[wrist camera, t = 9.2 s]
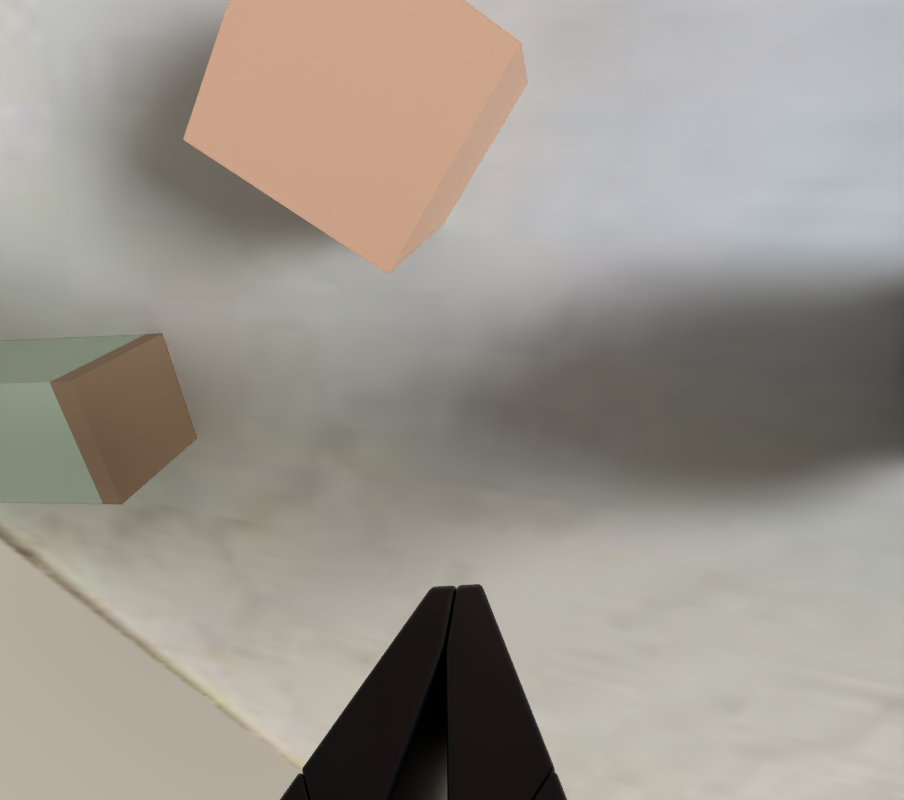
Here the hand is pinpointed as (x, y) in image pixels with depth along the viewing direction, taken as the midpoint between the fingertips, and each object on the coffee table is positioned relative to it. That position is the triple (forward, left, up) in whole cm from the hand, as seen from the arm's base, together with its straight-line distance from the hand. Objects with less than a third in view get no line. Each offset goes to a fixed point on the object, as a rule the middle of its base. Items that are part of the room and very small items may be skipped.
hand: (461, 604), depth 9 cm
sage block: (+6, +13, -11) cm, 18 cm away
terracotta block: (+8, -2, -13) cm, 15 cm away
